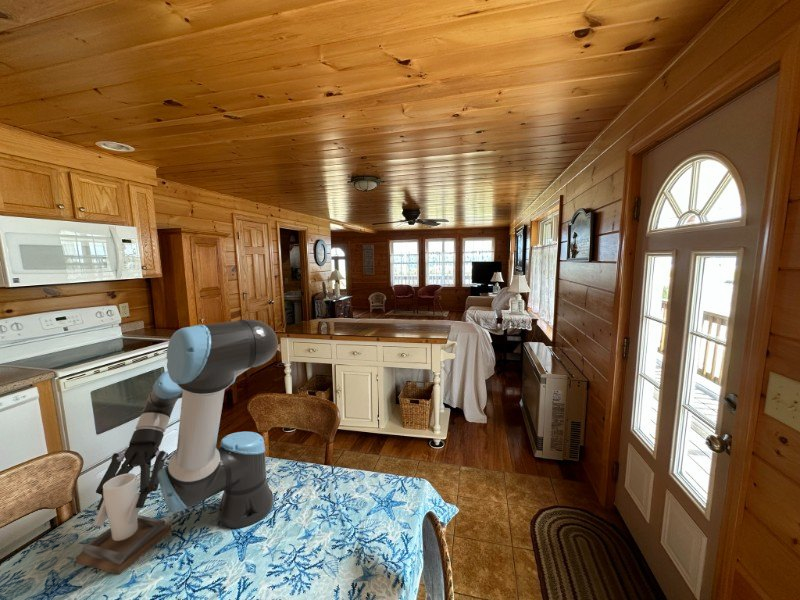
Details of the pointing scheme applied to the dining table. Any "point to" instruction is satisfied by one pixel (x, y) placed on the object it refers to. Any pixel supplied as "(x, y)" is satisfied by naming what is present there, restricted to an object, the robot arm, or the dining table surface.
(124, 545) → the collar board
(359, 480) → the dining table surface
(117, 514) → the white cup
